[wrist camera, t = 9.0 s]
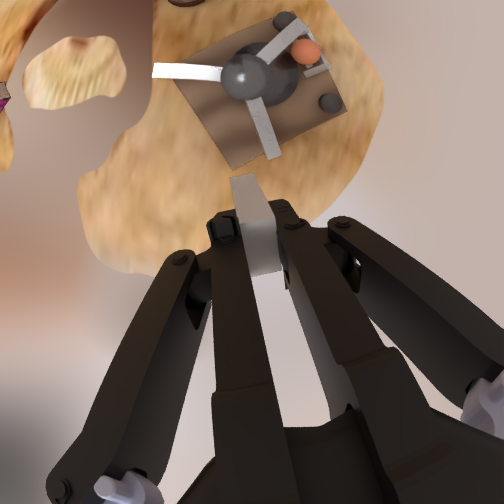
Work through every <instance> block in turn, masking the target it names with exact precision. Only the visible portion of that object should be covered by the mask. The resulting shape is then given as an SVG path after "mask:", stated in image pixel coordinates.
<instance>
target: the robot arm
mask: <svg viewBox="0 0 504 504" xmlns="http://www.w3.org/2000/svg"><path fill="white" fill-rule="evenodd" d="M230 183H231V188H232V194H233V199H234V204H235V209H232V210H228V211H223V212H218V213H217V214H216V215H215V216H214V218H212V219H210V220H209V221H208V222H207V224H206V227H207V230H208V234H209V237H210V241H211V247H210V248H209V249H208V250H206V251H205V252H203V253H201V254H198V255H195V253H194V251H192V250H186V249H184V250H178V251H177V252H174V253H172V254H171V255H169V256H168V257H167V259H166V260H165V261H164V263H163V265H162V267H161V268H160V270H159V272H158V274H157V275H156V277H155V279H154V281H153V282H152V284H151V286H150V288H149V290H148V291H147V293H146V295H145V297H144V299H143V301H142V303H141V304H140V306H139V308H138V310H137V312H136V314H135V316H134V318H133V320H132V322H131V323H130V326H129V328H128V329H127V331H126V333H125V336H124V337H123V339H122V341H121V343H120V345H119V347H118V349H117V352H116V354H115V356H114V358H113V360H112V362H111V364H110V366H109V369H108V371H107V373H106V375H105V377H104V379H103V382H102V384H101V386H100V389H99V391H98V393H97V395H96V398H95V400H94V403H93V405H92V407H91V410H90V412H89V415H88V417H87V420H86V423H85V425H84V427H83V430H82V432H81V434H80V435H79V436H78V437H77V439H76V440H75V441H74V442H73V444H72V445H71V447H69V449H68V450H67V451H66V453H65V454H64V455H63V457H62V458H61V459H60V460H59V462H58V463H57V464H56V465H55V467H54V468H53V469H52V471H51V472H50V473H49V475H48V477H47V479H46V491H47V495H48V497H49V499H50V501H51V503H52V504H164V499H163V497H162V494H161V492H160V490H159V489H158V487H157V486H158V484H159V483H160V481H161V479H162V477H163V474H164V472H165V470H166V467H167V464H168V460H169V458H170V453H171V450H172V446H173V442H174V438H175V434H176V430H177V426H178V422H179V419H180V415H181V411H182V408H183V404H184V400H185V396H186V393H187V389H188V385H189V382H190V378H191V374H192V371H193V367H194V364H195V360H196V357H197V353H198V349H199V346H200V343H201V339H202V336H203V332H204V329H205V325H206V322H207V318H208V315H209V312H210V308H211V303H212V314H213V337H214V357H215V373H216V392H214V393H212V397H211V408H212V422H213V435H214V448H215V457H213V458H212V459H211V461H209V463H207V465H206V466H205V467H204V468H203V470H202V471H201V473H200V474H199V475H198V476H197V478H196V479H195V480H194V482H193V483H192V484H191V486H190V487H189V488H188V490H187V491H186V492H185V494H184V495H183V496H182V497H181V499H180V500H179V501H178V503H177V504H504V329H503V328H501V327H500V326H499V325H497V324H496V323H495V322H494V321H493V320H492V319H491V318H490V317H489V316H487V315H486V314H485V313H484V312H483V311H482V310H480V309H479V308H478V307H477V306H476V305H474V304H473V303H472V302H471V301H470V300H468V299H467V298H466V297H465V296H463V295H462V294H461V293H460V292H458V291H457V290H456V289H454V288H453V287H452V286H451V285H449V284H448V283H447V282H445V281H444V280H443V279H441V278H440V277H439V276H438V275H436V274H435V273H434V272H432V271H431V270H429V269H428V268H426V267H425V266H424V265H422V264H421V263H420V262H418V261H417V260H416V259H414V258H413V257H411V256H410V255H408V254H407V253H405V252H404V251H403V250H401V249H400V248H398V247H397V246H395V245H394V244H392V243H391V242H389V241H388V240H386V239H385V238H383V237H382V236H380V235H379V234H377V233H375V232H374V231H372V230H371V229H369V228H368V227H366V226H364V225H363V224H361V223H360V222H358V221H357V220H355V219H353V218H350V217H346V216H338V217H334V218H332V219H330V220H329V221H328V228H315V227H311V226H310V224H309V223H308V222H307V221H306V220H305V219H302V218H299V217H298V215H297V214H296V212H295V211H294V210H293V208H292V207H291V205H290V203H289V202H288V201H286V200H284V199H278V200H273V201H268V202H267V199H266V197H265V195H264V193H263V191H262V189H261V187H260V185H259V183H258V181H257V179H256V178H255V176H254V174H253V173H251V174H246V175H241V176H236V177H231V178H230ZM356 259H357V260H358V261H359V263H360V265H361V266H360V265H358V264H357V263H356ZM281 264H282V266H283V272H284V280H285V289H286V290H287V289H289V292H290V295H291V297H292V300H293V303H294V306H295V309H296V311H297V314H298V317H299V320H300V323H301V326H302V328H303V331H304V334H305V337H306V340H307V343H308V346H309V349H310V351H311V354H312V357H313V360H314V363H315V366H316V369H317V372H318V375H319V378H320V381H321V384H322V387H323V390H324V393H325V396H326V399H327V402H328V406H329V411H330V419H331V421H329V422H327V423H326V424H324V425H322V426H318V427H283V422H282V418H281V414H280V409H279V404H278V400H277V395H276V391H275V386H274V382H273V377H272V373H271V368H270V364H269V359H268V355H267V350H266V345H265V341H264V336H263V332H262V327H261V323H260V318H259V313H258V309H257V304H256V299H255V295H254V290H253V285H252V281H251V277H253V276H258V275H263V274H267V273H272V272H277V271H281V270H282V266H281ZM211 300H212V301H211ZM369 318H370V319H371V320H372V321H373V322H374V323H375V324H376V325H377V326H378V327H379V328H380V329H381V330H382V331H383V332H384V333H385V334H386V335H387V336H388V337H389V338H390V339H391V340H392V341H393V342H394V343H395V344H396V345H397V346H398V348H399V349H400V350H401V351H402V352H403V353H404V354H405V355H406V356H407V357H408V358H409V359H410V360H411V361H412V362H413V363H414V365H415V366H416V367H417V368H418V369H419V370H420V371H421V372H422V373H423V374H424V375H425V376H426V378H427V379H428V380H429V381H430V382H431V383H432V384H433V385H434V386H435V387H436V389H437V390H439V392H441V393H442V394H443V395H444V396H445V397H446V398H447V399H448V400H449V401H451V402H452V403H453V404H454V405H456V406H458V407H460V408H461V409H463V413H462V415H461V418H460V419H461V421H459V420H456V419H454V418H452V417H450V416H447V415H446V414H444V413H441V412H439V411H437V410H435V409H433V408H431V407H430V406H429V404H428V402H427V400H426V398H425V396H424V394H423V392H422V390H421V388H420V386H419V385H418V383H417V381H416V379H415V377H414V375H413V373H412V372H411V370H410V368H409V366H408V364H407V362H406V361H405V359H404V357H403V355H402V354H401V353H400V351H399V350H398V349H397V348H395V347H389V348H388V347H386V346H385V345H384V344H383V342H382V340H381V339H380V337H379V335H378V333H377V331H376V330H375V328H374V326H373V324H372V323H371V321H370V319H369Z"/></svg>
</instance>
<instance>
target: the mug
mask: <svg viewBox="0 0 504 504" xmlns="http://www.w3.org/2000/svg"><path fill="white" fill-rule="evenodd" d="M168 1H169V2H170V3H172V4H173V5H176V6H180V7H189V6H193V5H197V4H199V3H201V2H203V1H204V0H168Z"/></svg>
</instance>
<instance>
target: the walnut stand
mask: <svg viewBox="0 0 504 504" xmlns="http://www.w3.org/2000/svg"><path fill="white" fill-rule="evenodd" d="M296 18H297V16H296V15H295V13H294V12H293V11H291V12H286V11H285V12H280V13H279V14H277V16H276V17H273V18H271V19H268V20H265V21H263V22H260V23H258V24H255V25H253V26H250V27H248V28H246V29H243V30H241V31H239V32H237V33H235V34H232V35H230V36H228V37H226V38H224V39H222V40H220V41H218V42H216V43H214V44H212V45H210V46H208V47H206V48H205V49H203V50H201V51H199V52H197V53H195V54H194V55H192V56H190V57H189V58H187V59H185V60H183V61H182V62H180V63H179V64H194V65H206V66H216V67H223V66H224V65H225V63H226V62H227V61H228V60H230V59H231V58H232V57H233V55H234V54H235V53H236V52H237V51H238V50H239V49H241V48H242V47H244V46H246V45H249V44H252V43H257V42H267V43H269V42H271V41H272V40H273V39H274V38H275V37H276V36H277V35H278V34H279V33H280V32H281V31H282V30H284V29H285V28H286V27H287V26H288V25H289V24H290V23H292V22H293V21H294V20H295V19H296ZM301 39H309V40H312V41H314V42H315V43H316V44H317V45H318V43H317V42H316V40H315V38H314V37H313V35H312V33H311V32H310V30H309V28H307V29H306V30H305V31H303V32H302V33H301V34H300V35H299V36H298V37H297V38H296V39H295V40H294V41H292V42H291V43H290V44H289V45H288V46H287V47H286V48H285V50H286V51H287V52H288V53H289V54H290V55H291V56H292V54H291V48H292V45H293V44H294V43H295V42H296V41H298V40H301ZM318 46H319V45H318ZM319 48H320V47H319ZM320 51H321V55H320V58H319V60H318V61H317V62H315V63H314V64H311V65H303V64H300V63H298V62H297V61H295V62H296V64H297V67H298V72H299V79H298V84H297V87H296V89H295V91H294V92H293V94H292V95H291V96H290V97H289V98H288V99H287V100H285V101H284V102H282V103H280V104H277V105H274V106H269V107H265V108H266V111H267V114H268V117H269V119H270V122H271V125H272V128H273V130H274V133H275V136H276V139H277V142H278V145H280V144H282V143H283V142H285V141H287V140H289V139H291V138H293V137H295V136H297V135H299V134H301V133H303V132H305V131H307V130H309V129H311V128H313V127H315V126H317V125H319V124H321V123H323V122H326V121H328V120H330V119H332V118H334V117H336V116H338V115H341V114H343V113H345V112H347V109H346V107H345V105H344V102H343V100H342V98H341V96H340V94H339V92H338V89H337V87H336V85H335V83H334V81H333V79H332V77H331V75H330V73H329V71H328V69H330V68H331V67H330V65H329V63H328V61H327V60H326V58H325V56H324V54H323V52H322V50H321V49H320ZM293 59H294V58H293ZM173 81H174V82H175V84H176V85H177V87H178V88H179V89H180V91H181V92H182V94H183V95H184V97H185V98H186V100H187V101H188V103H189V104H190V106H191V107H192V109H193V110H194V112H195V113H196V115H197V116H198V118H199V119H200V121H201V122H202V124H203V126H204V127H205V129H206V130H207V132H208V133H209V135H210V136H211V138H212V139H213V141H214V142H215V144H216V146H217V147H218V149H219V150H220V152H221V153H222V155H223V156H224V158H225V160H226V161H227V163H228V164H229V166H230V167H231V169H232V171H233V170H235V169H236V168H238V167H240V166H242V165H243V164H245V163H247V162H249V161H250V160H252V159H254V158H256V157H258V156H259V155H261V154H263V153H264V151H263V149H262V146H261V143H260V140H259V138H258V135H257V132H256V130H255V127H254V125H253V122H252V119H251V117H250V114H249V112H248V109H247V106H246V104H245V102H243V101H241V100H238V99H235V98H233V97H231V96H230V95H229V94H227V93H226V91H225V90H224V89H223V87H222V85H221V83H218V82H209V81H198V80H184V79H173Z"/></svg>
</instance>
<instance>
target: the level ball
mask: <svg viewBox="0 0 504 504" xmlns="http://www.w3.org/2000/svg"><path fill="white" fill-rule="evenodd" d="M291 54H292V57H293V58H294V60H295V61H297V62H298V63H300V64H303V65H311V64H314V63H315V62H317V61H318V60H319V58H320V55H321V51H320V48H319V46H318V45H317V44H316V43H315V42H314V41H312V40H309V39H301V40H298V41H296V42H295V43H294V44H293V45H292V48H291Z"/></svg>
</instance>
